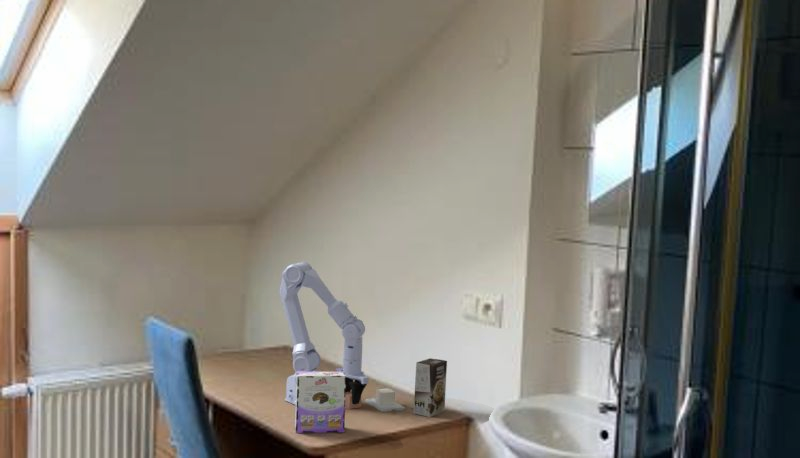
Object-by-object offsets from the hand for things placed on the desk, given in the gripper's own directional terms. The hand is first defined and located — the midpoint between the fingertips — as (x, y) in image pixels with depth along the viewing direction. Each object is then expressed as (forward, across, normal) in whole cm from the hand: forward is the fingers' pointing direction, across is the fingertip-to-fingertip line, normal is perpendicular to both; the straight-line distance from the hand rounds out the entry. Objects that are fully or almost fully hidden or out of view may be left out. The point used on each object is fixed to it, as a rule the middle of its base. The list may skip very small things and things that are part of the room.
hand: (350, 401), depth 266 cm
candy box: (+2, -15, +22) cm, 27 cm away
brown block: (+1, 0, 0) cm, 1 cm away
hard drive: (+2, -5, -10) cm, 11 cm away
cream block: (+1, -5, -10) cm, 11 cm away
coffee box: (+2, -18, -17) cm, 25 cm away
